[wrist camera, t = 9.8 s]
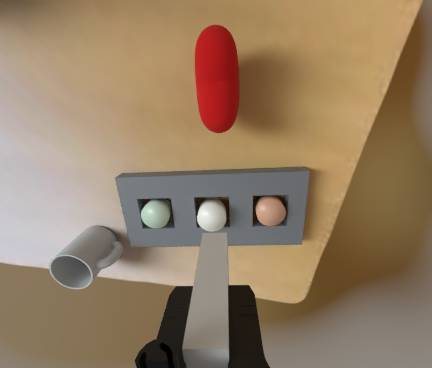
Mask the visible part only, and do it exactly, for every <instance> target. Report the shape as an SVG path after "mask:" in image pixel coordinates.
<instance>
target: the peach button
mask: <svg viewBox="0 0 432 368" xmlns="http://www.w3.org/2000/svg"><path fill="white" fill-rule="evenodd" d="M255 211H256V214H257V218H258V220H259V221H260V222H261V223H262V224H263V225H266V226H275V225H278V224H279V223H281V222H282V221H283V220H284V218H285V215H286V210H285V208H284V206H283V204H282V202H281V201H280V199H279V198H278V197H277V196H276V195H262V196H260V197H259V198H258V199H257V200H256V202H255Z"/></svg>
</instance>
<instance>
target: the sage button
mask: <svg viewBox="0 0 432 368" xmlns="http://www.w3.org/2000/svg"><path fill="white" fill-rule="evenodd" d="M171 214H172V205H171V203H170V202H169V201H168V200H167V199H165V198H158V199H151V200H150V201H149V202H148V203H147V204H146V206H145V207H144V208H143V209H142V212H141V218H142V220H143V222H144V223H145V224H146V225H147V226H149V227H151V228H162V227H164V226H165V225H166V224H167V222H168V220H169V218H170V216H171Z"/></svg>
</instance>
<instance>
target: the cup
mask: <svg viewBox="0 0 432 368" xmlns="http://www.w3.org/2000/svg"><path fill="white" fill-rule="evenodd" d="M122 252H123V245H122V244H121V243H120V242H118V241H117V239H116V237H115V235H114V234H113V233H112V232H111V231H110V230H109V229H107V228H105V227H101V226H92V227H89V228H87V229H86V230H84V231H83V232H82V233H81V234H80V235H79V236H78V237H77V238H75V239H74V240H73V241H72V242H71V243H70V244H69V245H68V246H67V247H65V248H64V249H63V250H62V251H61V252H60V253H59V254H58V255H56V256H55V257H54V258H53V259H52V260H51V262H50V264H49V270H50V273H51V275H52V277H53V278H54V279H55V280H56V281H57V282H58V283H60V284H61V285H63V286H65V287H68V288H72V289H82V288H85V287H87V286H89V285H90V284H91V282H92V281H93V280H94V278H95V277H96V276H97V274H98V273H99V272H100V270H101V269H104V268H107V267H109V266H111V265H112V264H113V263H115V262H116V261H117V260H118V259H119V257H120V256H121V255H122Z"/></svg>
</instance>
